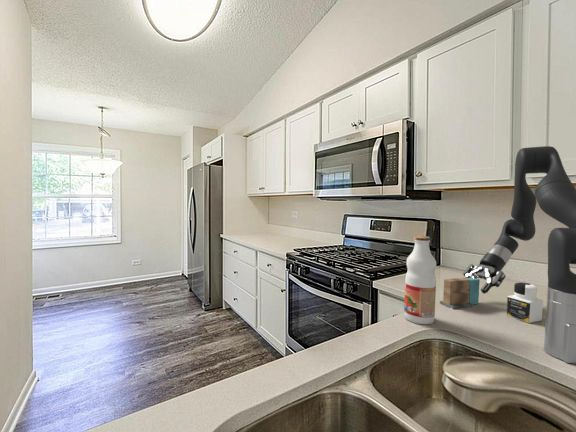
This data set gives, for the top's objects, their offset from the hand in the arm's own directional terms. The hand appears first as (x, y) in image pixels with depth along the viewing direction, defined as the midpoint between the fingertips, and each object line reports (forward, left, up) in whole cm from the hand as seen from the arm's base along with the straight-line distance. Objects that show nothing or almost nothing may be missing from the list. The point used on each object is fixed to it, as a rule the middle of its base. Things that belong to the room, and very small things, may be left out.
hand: (472, 288), depth 113 cm
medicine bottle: (-12, -12, -6) cm, 18 cm away
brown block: (-4, +7, -6) cm, 10 cm away
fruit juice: (-23, +24, -6) cm, 34 cm away
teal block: (0, +1, -6) cm, 6 cm away
